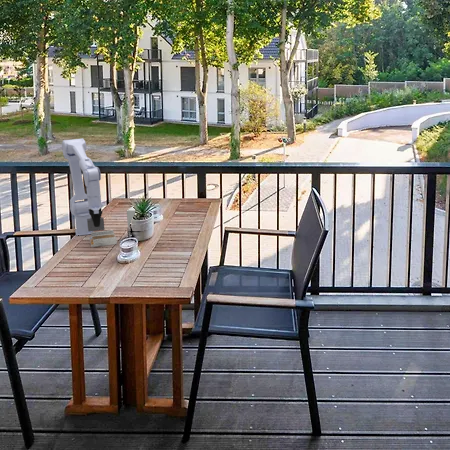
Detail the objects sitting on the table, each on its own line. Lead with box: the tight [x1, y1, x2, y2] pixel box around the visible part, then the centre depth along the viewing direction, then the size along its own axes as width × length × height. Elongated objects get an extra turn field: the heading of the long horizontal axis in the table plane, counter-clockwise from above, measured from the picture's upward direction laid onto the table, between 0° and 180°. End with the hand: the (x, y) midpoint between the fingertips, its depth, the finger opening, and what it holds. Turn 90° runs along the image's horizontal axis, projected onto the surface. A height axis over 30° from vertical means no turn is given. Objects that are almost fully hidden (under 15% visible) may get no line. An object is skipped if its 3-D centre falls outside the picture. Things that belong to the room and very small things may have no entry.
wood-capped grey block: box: [87, 216, 106, 232], centre depth 283 cm, size 3×7×5 cm, turn 105°
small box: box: [126, 205, 135, 228], centre depth 303 cm, size 8×6×10 cm
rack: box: [88, 229, 118, 248], centre depth 288 cm, size 13×11×3 cm
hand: (96, 225), depth 283 cm, fingers closed on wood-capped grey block, 3 cm apart
